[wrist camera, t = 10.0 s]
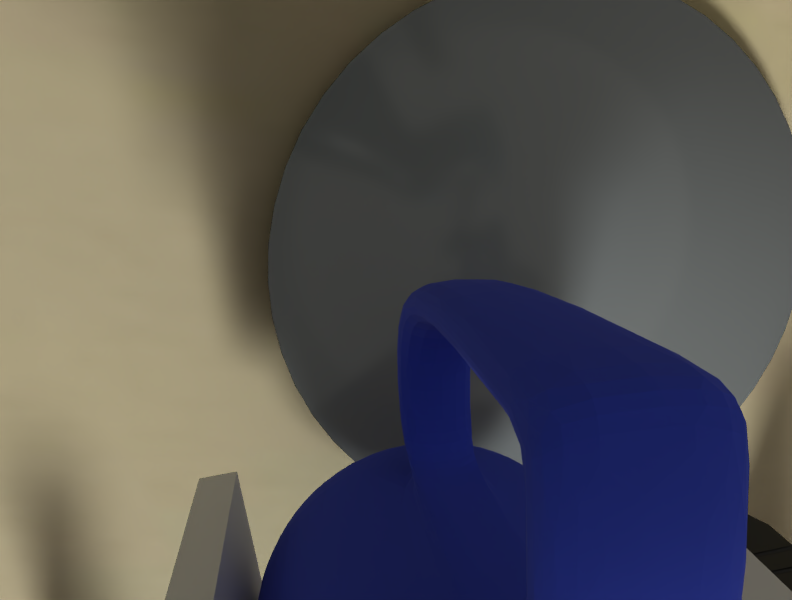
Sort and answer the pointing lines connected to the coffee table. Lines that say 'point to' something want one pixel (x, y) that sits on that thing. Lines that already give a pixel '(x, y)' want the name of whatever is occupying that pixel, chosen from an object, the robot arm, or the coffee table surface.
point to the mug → (532, 468)
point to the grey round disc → (533, 195)
